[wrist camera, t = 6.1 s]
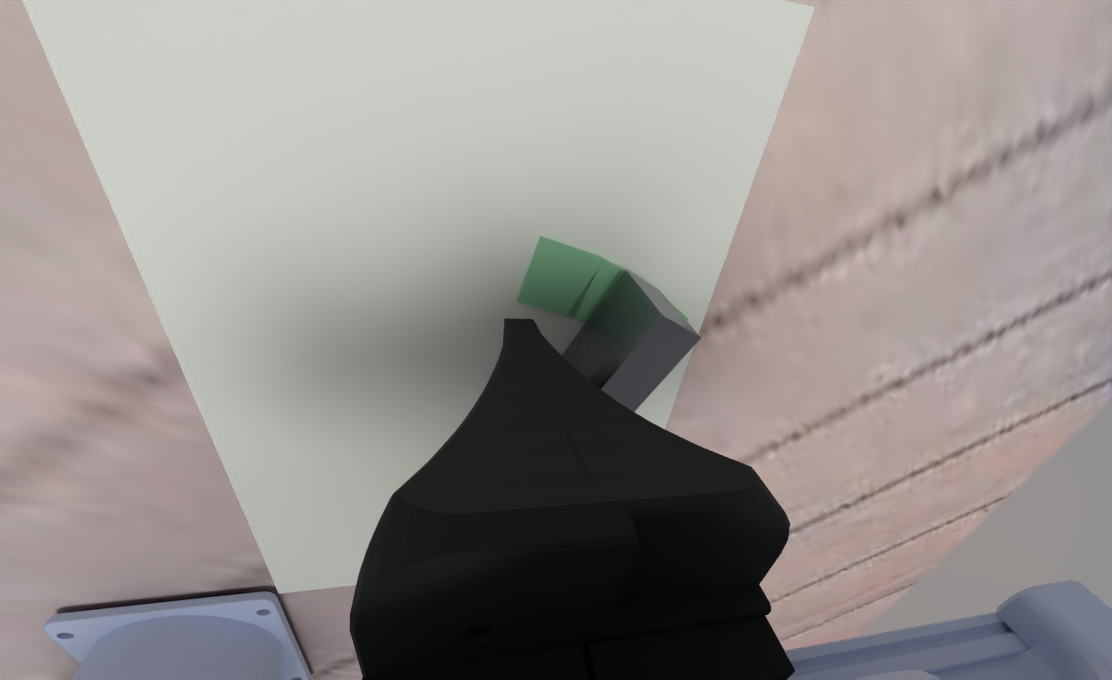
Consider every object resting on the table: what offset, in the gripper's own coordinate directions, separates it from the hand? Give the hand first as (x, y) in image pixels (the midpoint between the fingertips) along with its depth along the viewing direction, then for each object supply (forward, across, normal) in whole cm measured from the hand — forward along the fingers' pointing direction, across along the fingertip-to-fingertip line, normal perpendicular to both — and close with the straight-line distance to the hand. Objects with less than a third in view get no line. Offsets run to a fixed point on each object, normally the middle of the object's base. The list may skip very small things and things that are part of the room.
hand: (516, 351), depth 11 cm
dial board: (+2, +1, +2) cm, 3 cm away
